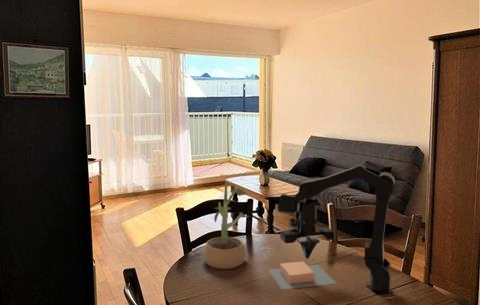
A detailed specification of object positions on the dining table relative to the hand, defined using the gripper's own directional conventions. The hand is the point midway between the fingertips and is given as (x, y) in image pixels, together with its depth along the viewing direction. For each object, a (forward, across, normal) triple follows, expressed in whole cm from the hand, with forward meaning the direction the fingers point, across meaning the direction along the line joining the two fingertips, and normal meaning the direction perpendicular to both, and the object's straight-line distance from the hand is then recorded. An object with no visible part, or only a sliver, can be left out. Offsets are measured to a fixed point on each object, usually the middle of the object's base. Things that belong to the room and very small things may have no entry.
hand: (306, 258), depth 140 cm
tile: (+5, -1, 0) cm, 5 cm away
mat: (+7, +2, 0) cm, 7 cm away
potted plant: (+7, +25, -22) cm, 34 cm away
